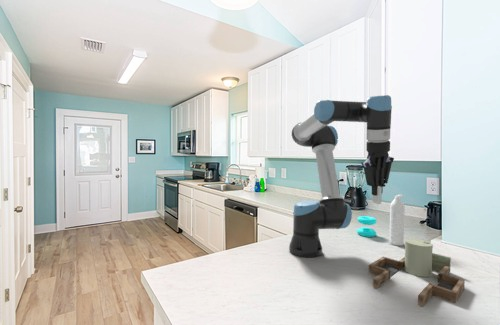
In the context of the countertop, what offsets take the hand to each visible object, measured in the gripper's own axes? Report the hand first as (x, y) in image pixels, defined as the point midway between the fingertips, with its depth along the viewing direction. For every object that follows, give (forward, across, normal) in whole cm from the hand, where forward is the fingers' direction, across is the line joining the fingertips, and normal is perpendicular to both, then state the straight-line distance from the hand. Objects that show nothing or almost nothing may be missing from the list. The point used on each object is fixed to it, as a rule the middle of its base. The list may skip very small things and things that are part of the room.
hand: (376, 202), depth 95 cm
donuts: (+40, +30, +36) cm, 61 cm away
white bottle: (+38, +34, +20) cm, 55 cm away
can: (+30, +14, -7) cm, 34 cm away
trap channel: (+27, +6, -12) cm, 30 cm away
